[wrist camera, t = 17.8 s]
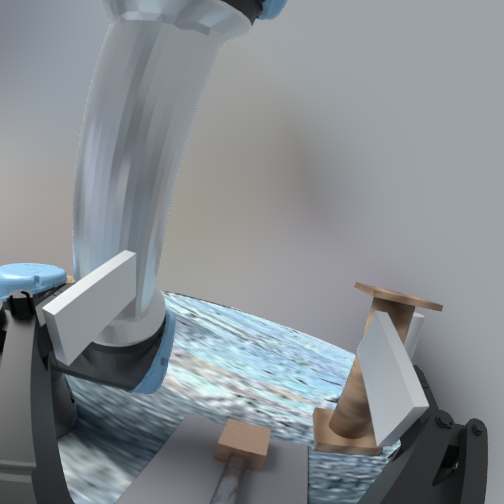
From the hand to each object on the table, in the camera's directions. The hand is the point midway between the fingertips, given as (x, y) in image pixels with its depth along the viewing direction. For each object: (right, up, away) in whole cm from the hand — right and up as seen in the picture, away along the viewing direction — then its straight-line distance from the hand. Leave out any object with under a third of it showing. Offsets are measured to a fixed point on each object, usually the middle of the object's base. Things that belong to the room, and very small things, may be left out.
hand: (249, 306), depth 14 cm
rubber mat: (-3, -29, +12) cm, 31 cm away
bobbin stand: (+18, -34, +29) cm, 48 cm away
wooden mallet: (-3, -28, +11) cm, 31 cm away
